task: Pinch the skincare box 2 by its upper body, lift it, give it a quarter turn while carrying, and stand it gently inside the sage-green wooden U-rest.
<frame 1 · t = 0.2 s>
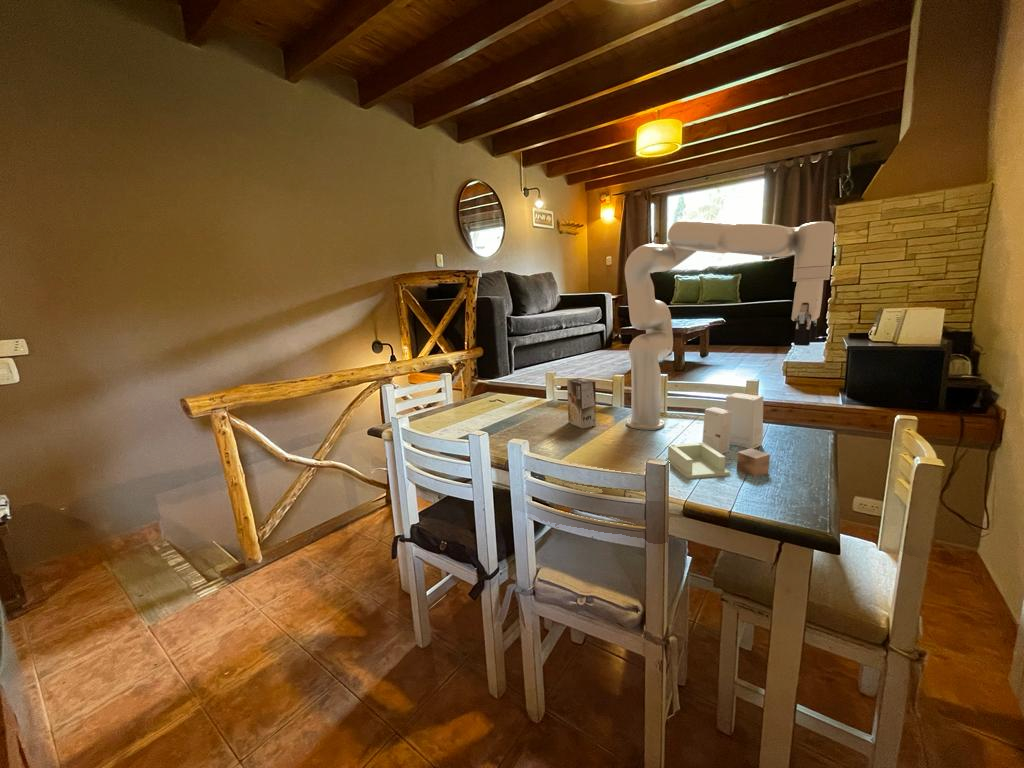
hand: (805, 343, 109), 31 cm above the table, tool pointing down, fingers open, 9 cm apart
skincare box: (742, 444, 125), on the table
coffee box: (581, 424, 151), on the table
u rest: (696, 467, 111), on the table
skincare box 2: (715, 451, 121), on the table
walnut block: (752, 471, 106), on the table
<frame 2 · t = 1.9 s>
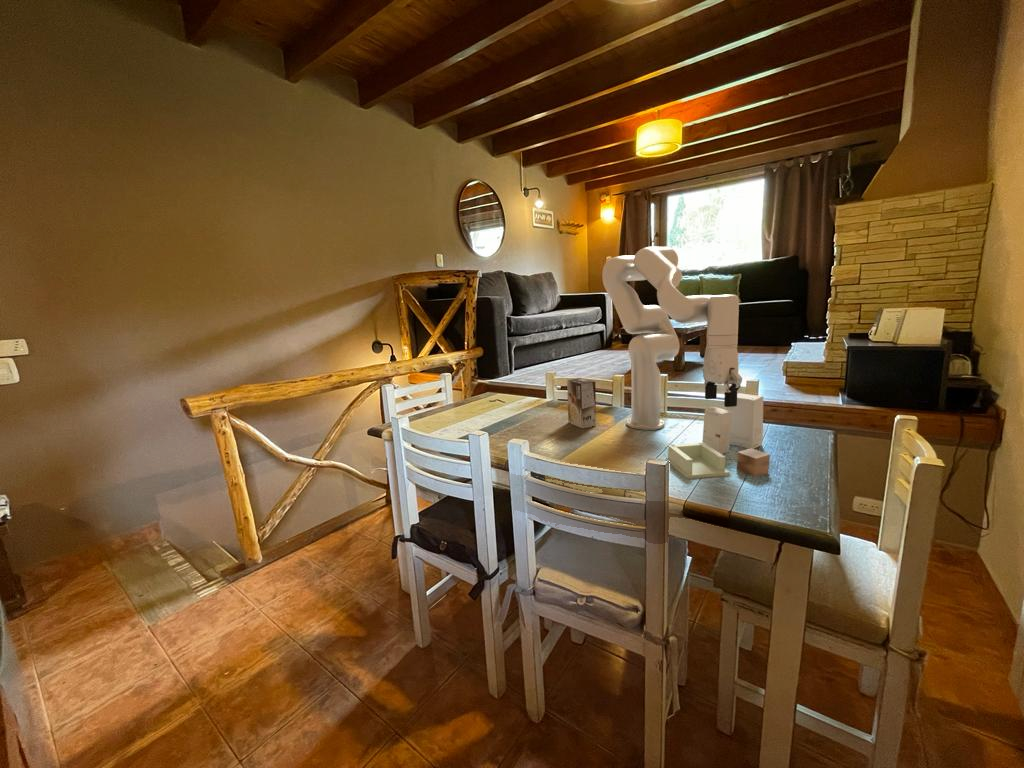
hand: (720, 402, 117), 14 cm above the table, tool pointing down, fingers open, 9 cm apart
nothing on the table moved.
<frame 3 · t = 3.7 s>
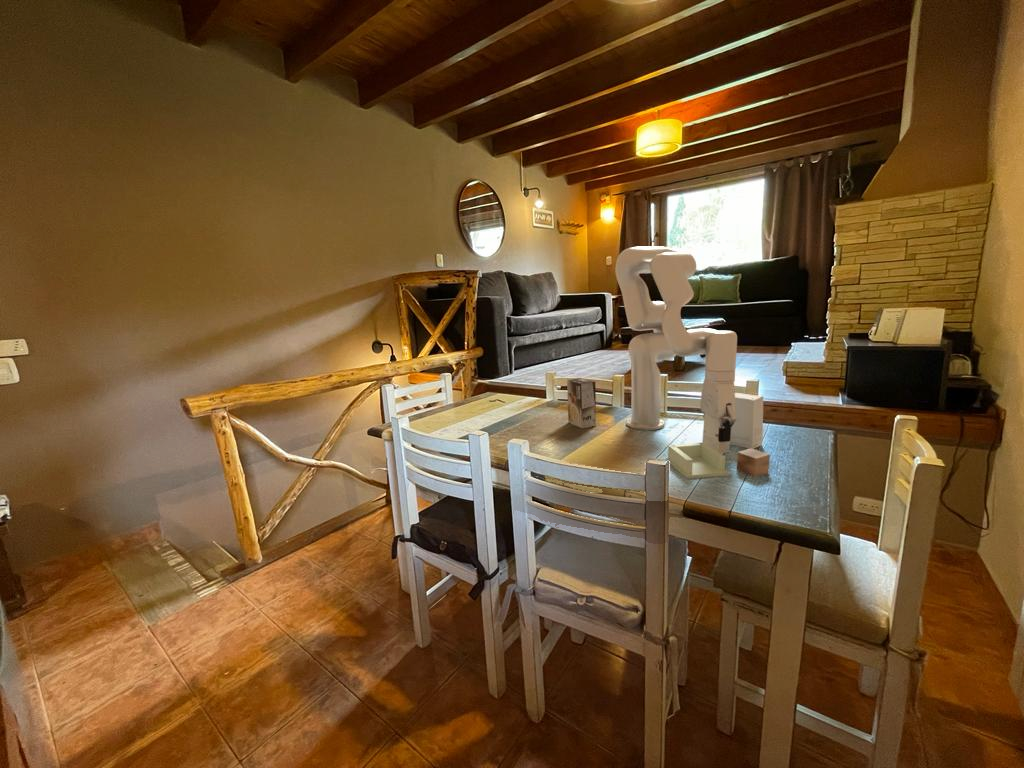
hand: (716, 436, 120), 4 cm above the table, tool pointing down, fingers closed on skincare box 2, 6 cm apart
skincare box 2: (715, 451, 121), on the table, touching gripper
everything else where it was.
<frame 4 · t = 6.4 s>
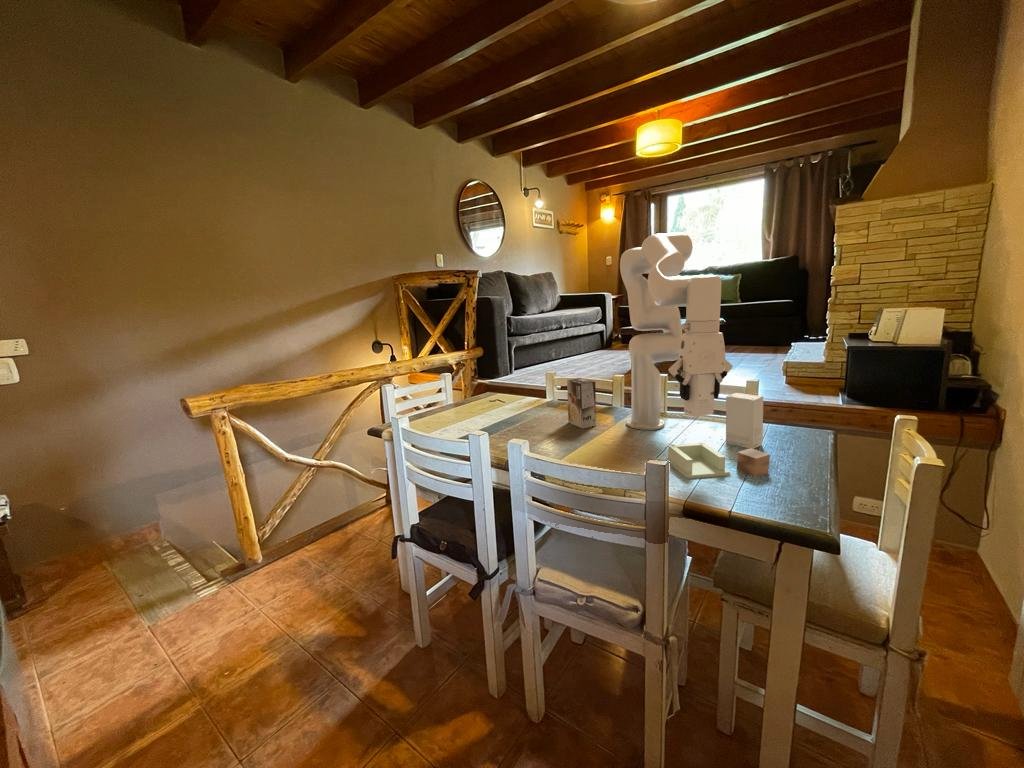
hand: (699, 397, 107), 19 cm above the table, tool pointing down, fingers closed on skincare box 2, 6 cm apart
skincare box 2: (698, 414, 108), point 14 cm above the table, touching gripper
everything else where it was.
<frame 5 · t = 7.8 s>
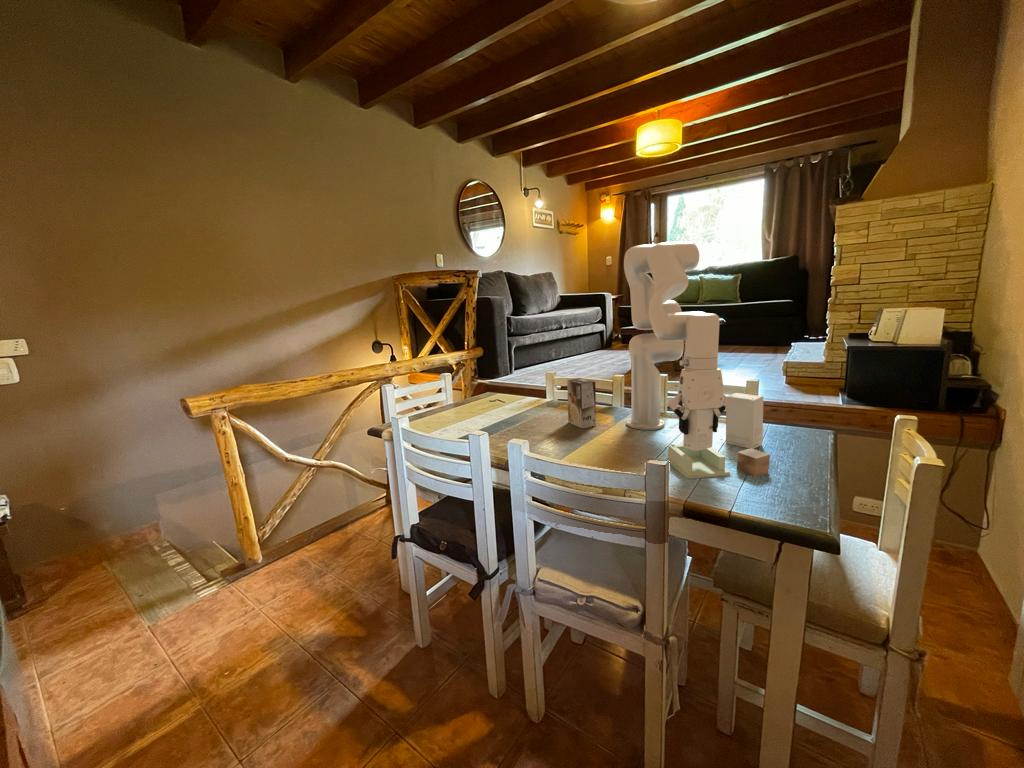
hand: (698, 431, 108), 10 cm above the table, tool pointing down, fingers closed on skincare box 2, 6 cm apart
skincare box 2: (697, 447, 109), point 6 cm above the table, touching gripper
everything else where it was.
when the fingers open (6 cm above the table, at t = 9.1 s): skincare box 2 drops 1 cm, resting on u rest.
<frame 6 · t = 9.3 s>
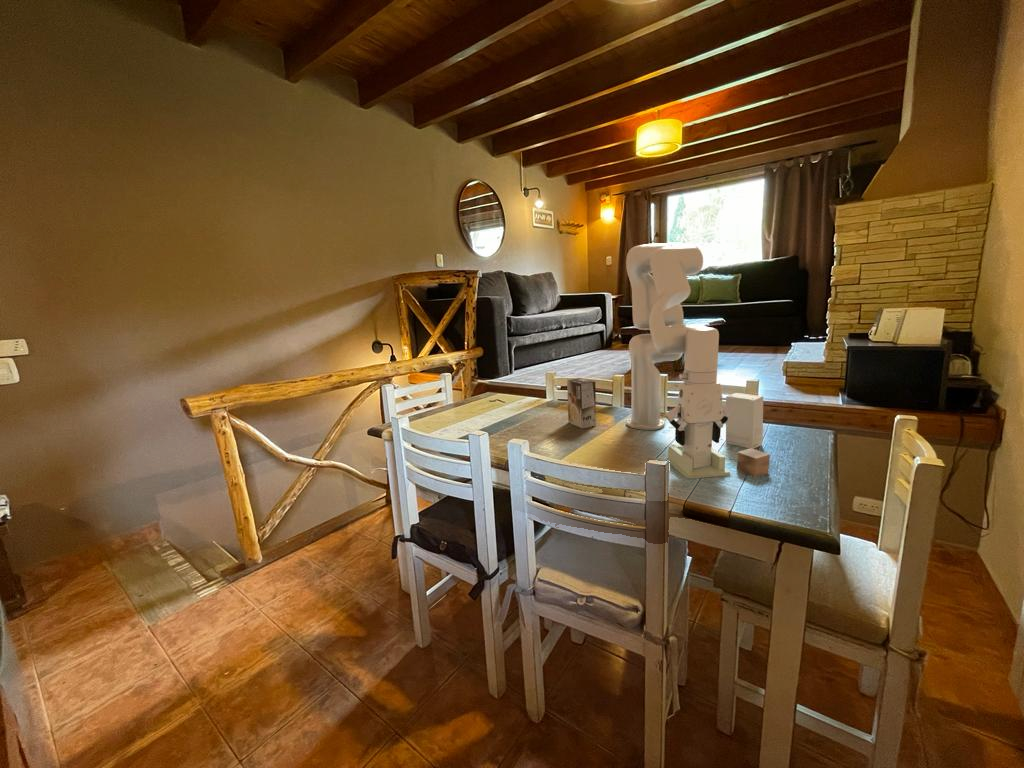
hand: (697, 442, 109), 7 cm above the table, tool pointing down, fingers open, 8 cm apart
skincare box 2: (696, 464, 111), point 1 cm above the table, touching u rest
everything else where it was.
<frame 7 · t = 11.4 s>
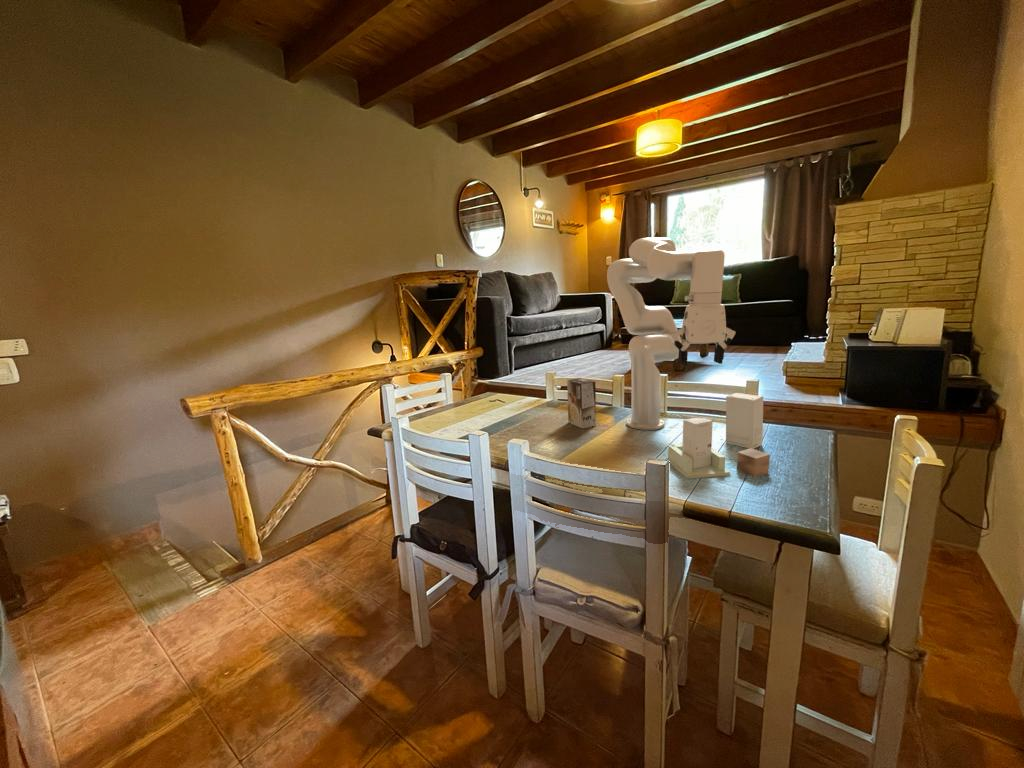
hand: (700, 363, 114), 26 cm above the table, tool pointing down, fingers open, 9 cm apart
nothing on the table moved.
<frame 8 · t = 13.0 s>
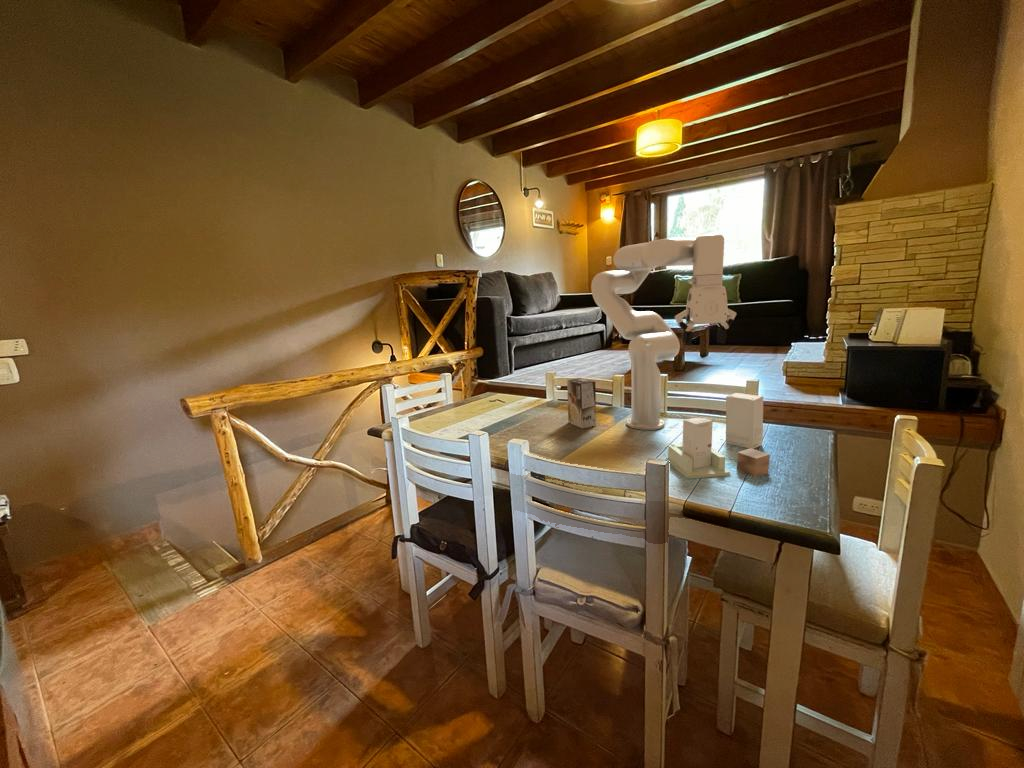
hand: (704, 343, 119), 30 cm above the table, tool pointing down, fingers open, 9 cm apart
nothing on the table moved.
at the end: skincare box 2 inside the target area on the u rest (0.3 cm from its centre), point 0.6 cm above the u rest's base; skincare box 2 tilted 0°; the gripper is holding nothing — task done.
